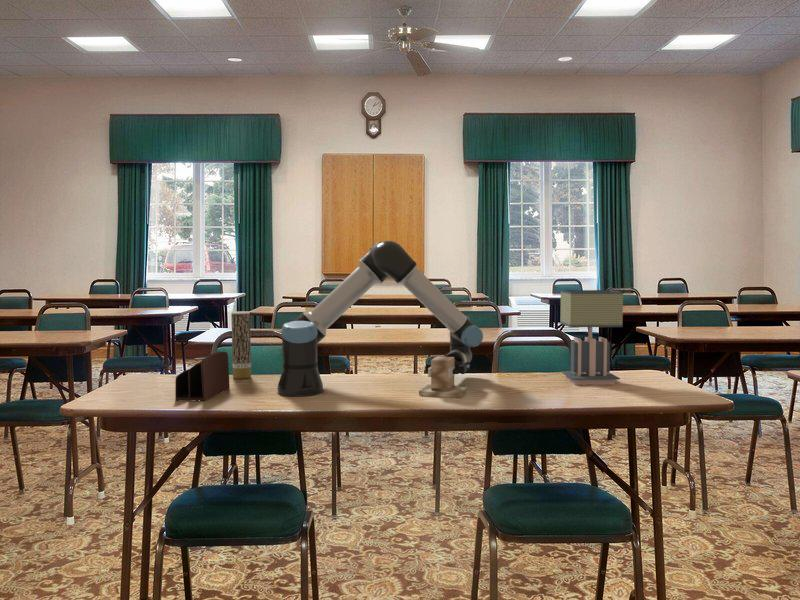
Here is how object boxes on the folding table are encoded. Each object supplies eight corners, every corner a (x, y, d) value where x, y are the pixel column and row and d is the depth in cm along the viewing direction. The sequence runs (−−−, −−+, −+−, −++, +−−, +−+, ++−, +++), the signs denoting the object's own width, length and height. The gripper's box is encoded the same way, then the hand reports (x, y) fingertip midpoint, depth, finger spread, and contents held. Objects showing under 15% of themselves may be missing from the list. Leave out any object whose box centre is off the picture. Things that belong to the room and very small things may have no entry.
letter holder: (230, 389, 216) (229, 348, 215) (204, 402, 197) (203, 357, 196) (202, 388, 218) (201, 348, 217) (174, 401, 198) (173, 357, 197)
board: (418, 395, 203) (418, 390, 203) (427, 388, 214) (427, 384, 214) (461, 398, 199) (461, 393, 199) (467, 391, 209) (467, 386, 209)
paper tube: (231, 377, 237) (229, 311, 236) (248, 375, 241) (247, 311, 239) (235, 380, 231) (233, 313, 230) (253, 378, 235) (251, 312, 233)
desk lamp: (608, 377, 232) (609, 290, 230) (622, 385, 218) (623, 292, 216) (559, 377, 232) (560, 290, 230) (569, 385, 218) (570, 292, 216)
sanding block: (431, 390, 204) (431, 360, 203) (437, 385, 211) (436, 356, 211) (449, 391, 202) (448, 360, 201) (454, 386, 210) (454, 357, 209)
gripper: (480, 373, 221) (468, 386, 199) (428, 371, 226) (411, 383, 204) (480, 352, 220) (468, 363, 198) (428, 350, 226) (410, 360, 204)
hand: (439, 373), depth 201 cm, fingers closed on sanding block, 6 cm apart
